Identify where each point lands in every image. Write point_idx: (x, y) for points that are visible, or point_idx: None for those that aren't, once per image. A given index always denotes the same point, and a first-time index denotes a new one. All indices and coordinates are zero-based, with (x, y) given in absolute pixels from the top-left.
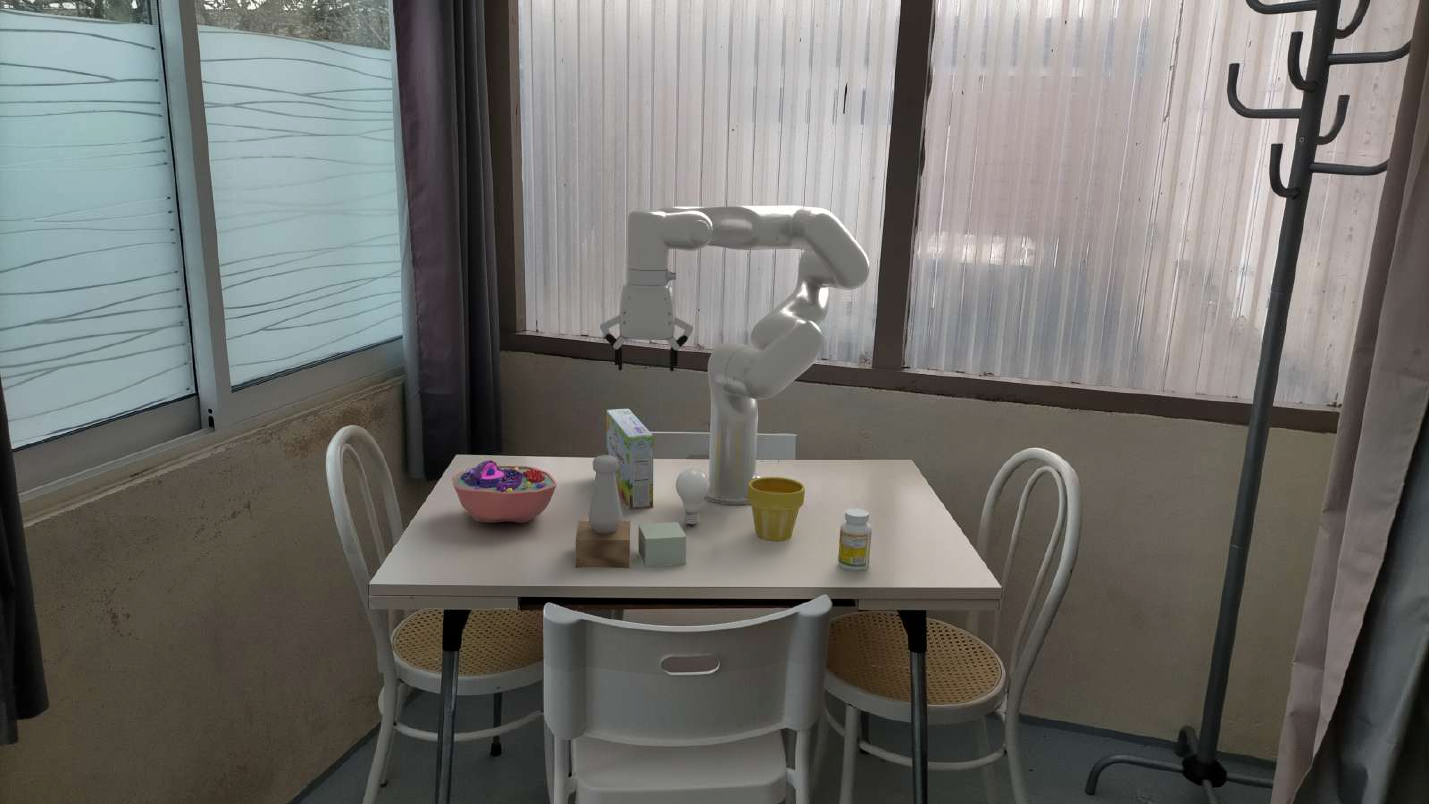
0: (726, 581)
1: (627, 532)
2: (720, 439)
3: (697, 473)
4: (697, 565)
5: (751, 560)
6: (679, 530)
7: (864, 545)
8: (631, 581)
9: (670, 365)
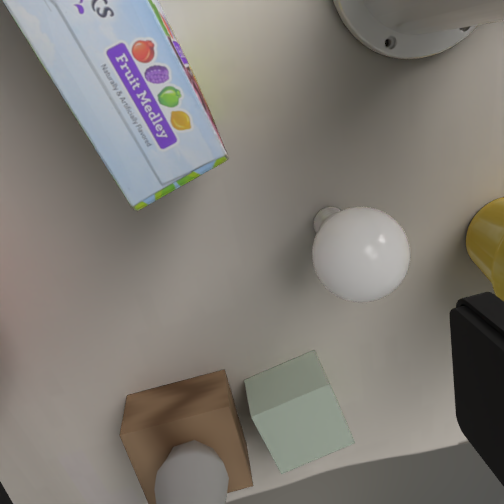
0: (406, 441)
1: (239, 458)
2: (487, 2)
3: (389, 288)
4: (357, 403)
5: (448, 359)
6: (338, 420)
7: None
8: (261, 482)
9: (489, 461)
